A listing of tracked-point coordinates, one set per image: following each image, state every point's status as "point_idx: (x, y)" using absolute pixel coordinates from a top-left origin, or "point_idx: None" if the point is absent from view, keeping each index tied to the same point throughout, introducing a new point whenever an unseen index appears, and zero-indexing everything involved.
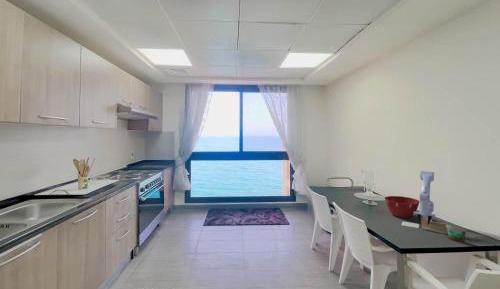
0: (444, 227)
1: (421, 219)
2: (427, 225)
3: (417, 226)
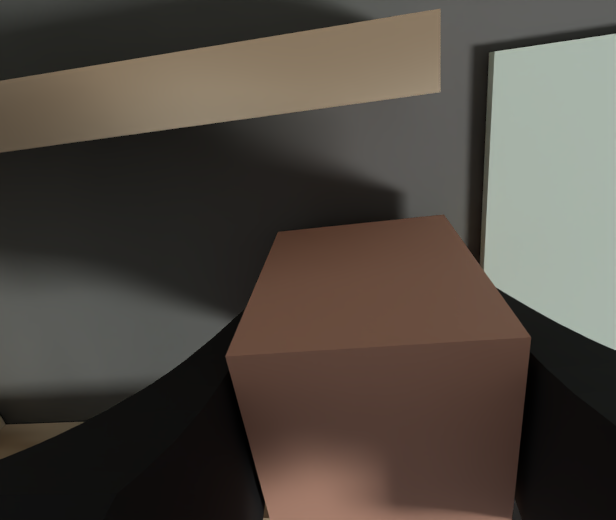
0: (33, 445)
1: (502, 389)
2: (220, 49)
3: (525, 210)
